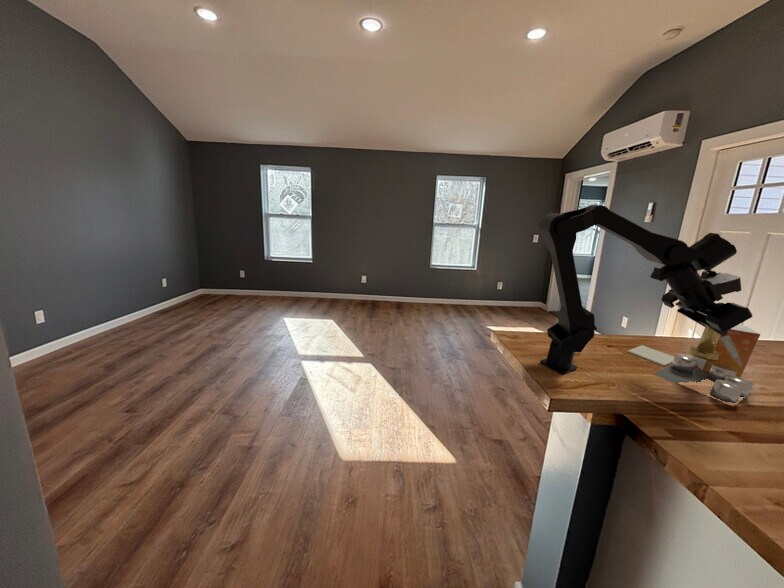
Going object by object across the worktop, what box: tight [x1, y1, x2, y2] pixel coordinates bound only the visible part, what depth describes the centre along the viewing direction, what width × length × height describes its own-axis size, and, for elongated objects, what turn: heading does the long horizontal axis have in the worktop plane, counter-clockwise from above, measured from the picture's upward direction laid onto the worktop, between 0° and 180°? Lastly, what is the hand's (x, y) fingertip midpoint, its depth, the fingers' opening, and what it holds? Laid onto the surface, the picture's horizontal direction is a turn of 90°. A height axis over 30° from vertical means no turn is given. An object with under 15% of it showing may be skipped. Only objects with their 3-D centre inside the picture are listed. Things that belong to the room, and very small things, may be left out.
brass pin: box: [688, 326, 721, 361], centre depth 77 cm, size 5×5×13 cm
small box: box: [692, 324, 761, 377], centre depth 85 cm, size 8×6×13 cm
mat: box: [653, 364, 709, 385], centre depth 80 cm, size 15×15×1 cm
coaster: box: [627, 344, 675, 367], centre depth 92 cm, size 9×9×1 cm
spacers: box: [670, 353, 754, 403], centre depth 79 cm, size 15×15×4 cm
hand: (718, 331), depth 77 cm, fingers closed on brass pin, 3 cm apart
